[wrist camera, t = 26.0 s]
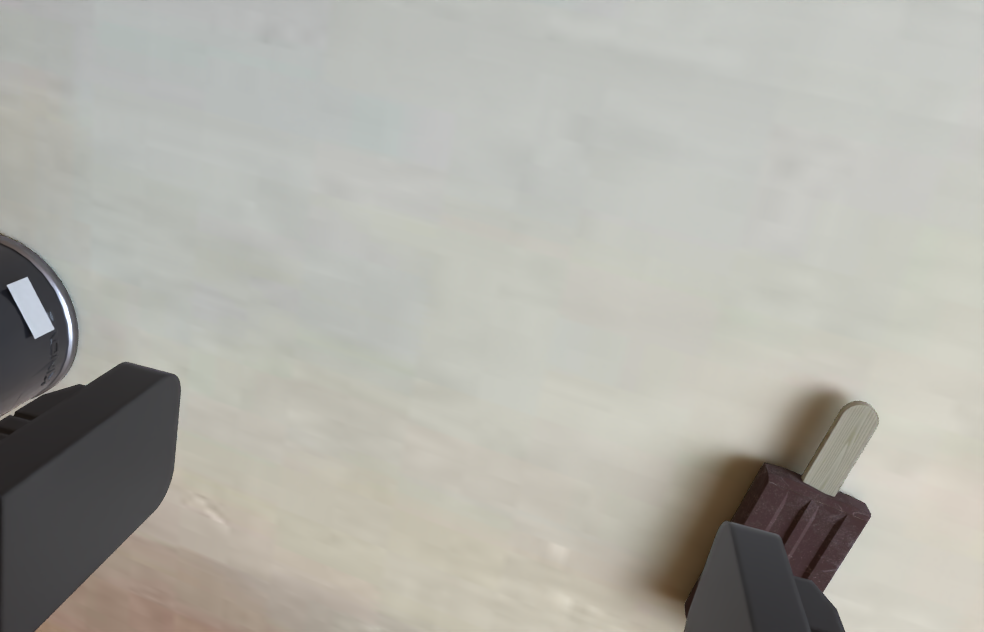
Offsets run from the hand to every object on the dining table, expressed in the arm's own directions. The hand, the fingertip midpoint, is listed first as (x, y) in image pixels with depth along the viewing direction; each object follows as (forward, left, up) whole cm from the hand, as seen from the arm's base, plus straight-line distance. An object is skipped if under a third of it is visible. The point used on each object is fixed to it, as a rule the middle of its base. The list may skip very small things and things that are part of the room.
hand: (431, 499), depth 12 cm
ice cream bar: (+15, -14, -28) cm, 35 cm away
